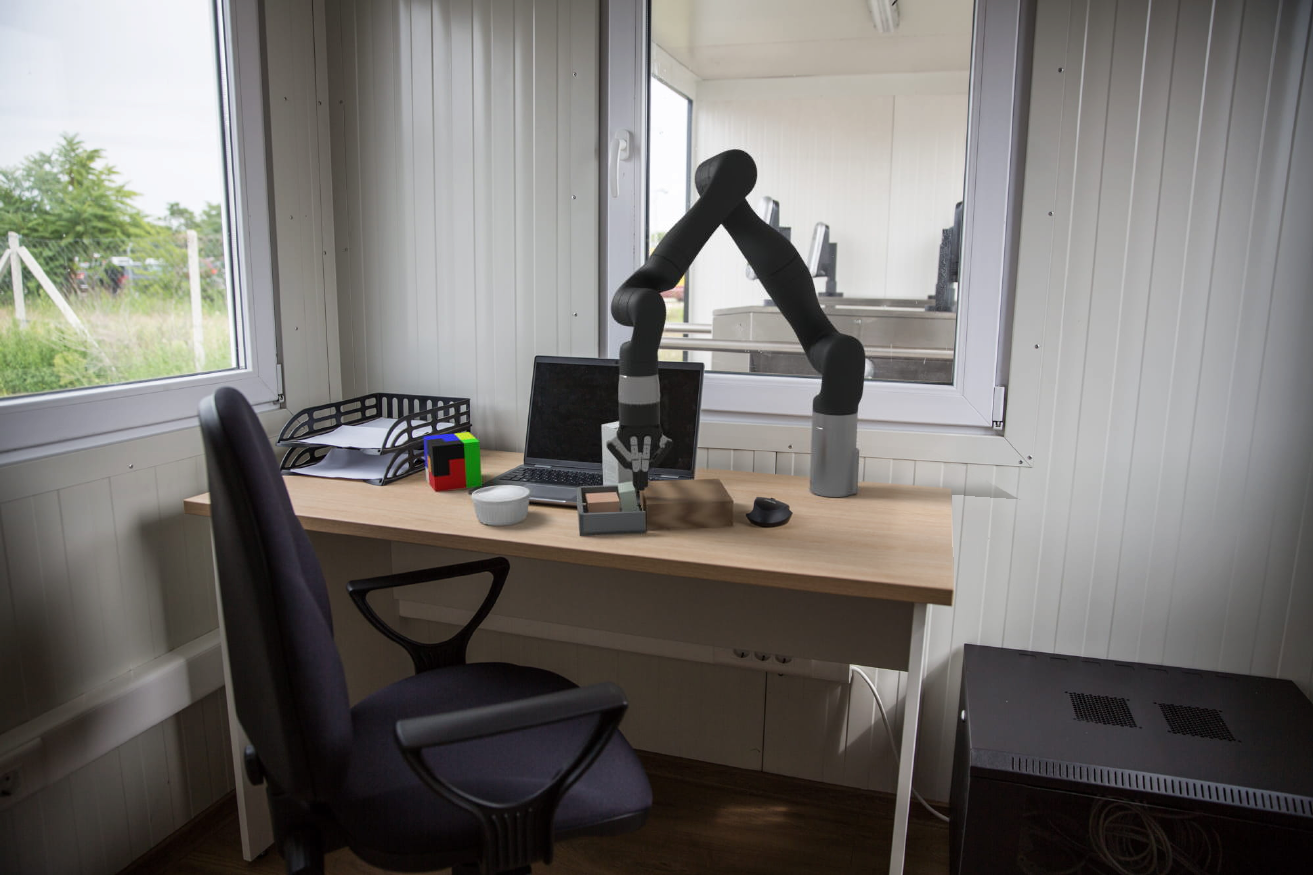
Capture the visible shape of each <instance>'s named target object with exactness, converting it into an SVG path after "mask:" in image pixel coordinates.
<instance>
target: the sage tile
mask: <svg viewBox="0 0 1313 875" xmlns="http://www.w3.org/2000/svg"><path fill="white" fill-rule="evenodd" d="M618 490H619V496H620V502H621V508H622V512H628V511H638V506H639V505H638V506H637V503H638V498H637V499H636V493H635V488H634V486H633V483H632V481H631V482H625V483H619V484H618Z"/></svg>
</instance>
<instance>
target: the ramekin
mask: <svg viewBox="0 0 1313 875" xmlns="http://www.w3.org/2000/svg"><path fill="white" fill-rule="evenodd" d="M530 498H531V491H530V489H529V488H526V487H524V486H519V485H511V484H509V485H508V484H507V485H505V484H503V485H492V486H486V487H481V488H479V489H477V490H475V491H473V492H472V493H471V501H472V502H473V507H474V513H475V517H476V519H477V520H478V521H479V522H480V523H481V522H482V523H481V524H483V525H486V524H488V525H487V526H492V525H495V527H496V526H497V527H498V526H499V527H500V526H502V527H503V526H510V525H511V524H512V525H516V524H519V523H520V522H523V521H524V520H525V519H526V518H527V516H528V512H529V506H530Z"/></svg>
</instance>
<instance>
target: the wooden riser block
mask: <svg viewBox="0 0 1313 875" xmlns="http://www.w3.org/2000/svg"><path fill="white" fill-rule="evenodd" d="M723 484H724V483H722V482H721V480H720V478H706V479H705V478H702V479H701V478H700V479H698V478H697V479H678V480H677V479H675V480H674V479H672V480H671V479H670V480H648V487H645V491H639V506H640V505H641V507H640V509H641V508H642V511H645V512H646V529H647V530H646V531H660V530H685V529H707V528H709V529H711V528H712V529H713V528H727V527H728V528H729V527H730V528H733V527H734V504H735V502H734V500H733V498H732V497H731V495H730V493H729V492H728V490H727V489H726V487H725V486H724V485H723Z"/></svg>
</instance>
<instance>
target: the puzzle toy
mask: <svg viewBox="0 0 1313 875" xmlns="http://www.w3.org/2000/svg"><path fill="white" fill-rule="evenodd" d="M480 442H481V441H479V440H478V439H477V438H476V437H475V436H474V435H473V434H471V432H469V431H465V432H457V433H446V434H436V435H427V436H423V452H424V465H425V476H426V477H425V478H426V481H427V482H428V484H429V486H430V487H431V489H432V490H433V491H434V493H437V492H438V493H439V492H444V491H452V490H453V491H454V490H461V489H470V488H477V487H478V488H479V487H482V486H483V484H482V464H481V445H480V444H481V443H480Z"/></svg>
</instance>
